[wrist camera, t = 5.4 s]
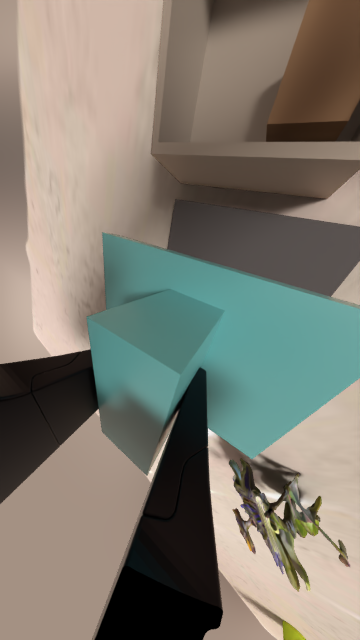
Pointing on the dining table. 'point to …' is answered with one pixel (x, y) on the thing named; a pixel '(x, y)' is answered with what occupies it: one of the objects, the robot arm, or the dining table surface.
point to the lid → (212, 349)
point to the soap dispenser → (291, 632)
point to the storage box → (238, 101)
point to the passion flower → (278, 522)
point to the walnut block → (319, 75)
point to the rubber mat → (267, 244)
